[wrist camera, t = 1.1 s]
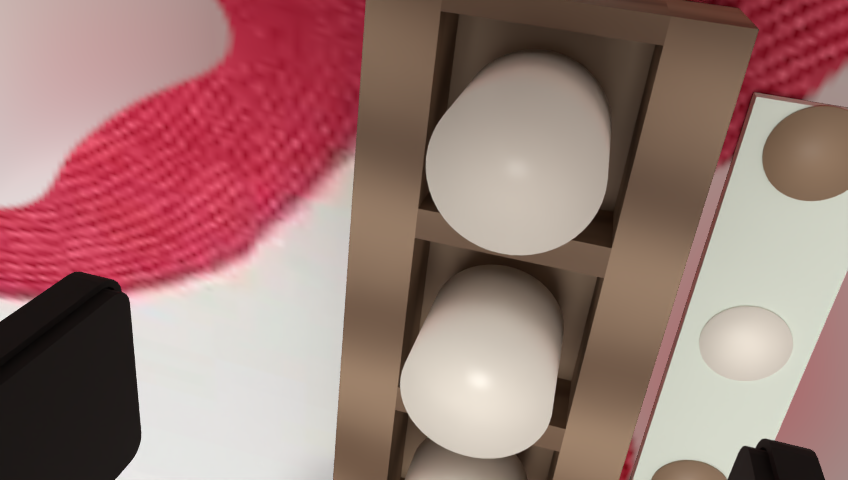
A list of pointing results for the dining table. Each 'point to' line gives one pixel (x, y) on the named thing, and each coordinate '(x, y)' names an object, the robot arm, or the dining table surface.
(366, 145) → the wooden compartment tray
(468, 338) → the button mid
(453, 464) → the button
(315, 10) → the dining table surface
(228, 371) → the dining table surface
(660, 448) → the card
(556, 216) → the button
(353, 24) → the dining table surface
